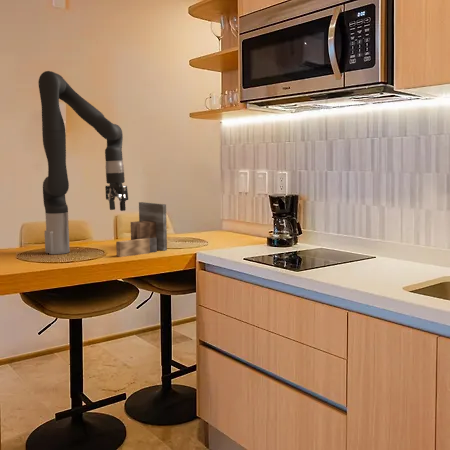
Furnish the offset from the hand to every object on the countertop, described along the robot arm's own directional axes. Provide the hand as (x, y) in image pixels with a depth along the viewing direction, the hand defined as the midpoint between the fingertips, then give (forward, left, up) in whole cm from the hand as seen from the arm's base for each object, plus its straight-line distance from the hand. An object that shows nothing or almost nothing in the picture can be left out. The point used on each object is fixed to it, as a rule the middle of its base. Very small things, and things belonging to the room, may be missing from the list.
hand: (117, 210), depth 229 cm
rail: (+3, -10, -18) cm, 21 cm away
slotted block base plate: (+12, 0, -18) cm, 22 cm away
